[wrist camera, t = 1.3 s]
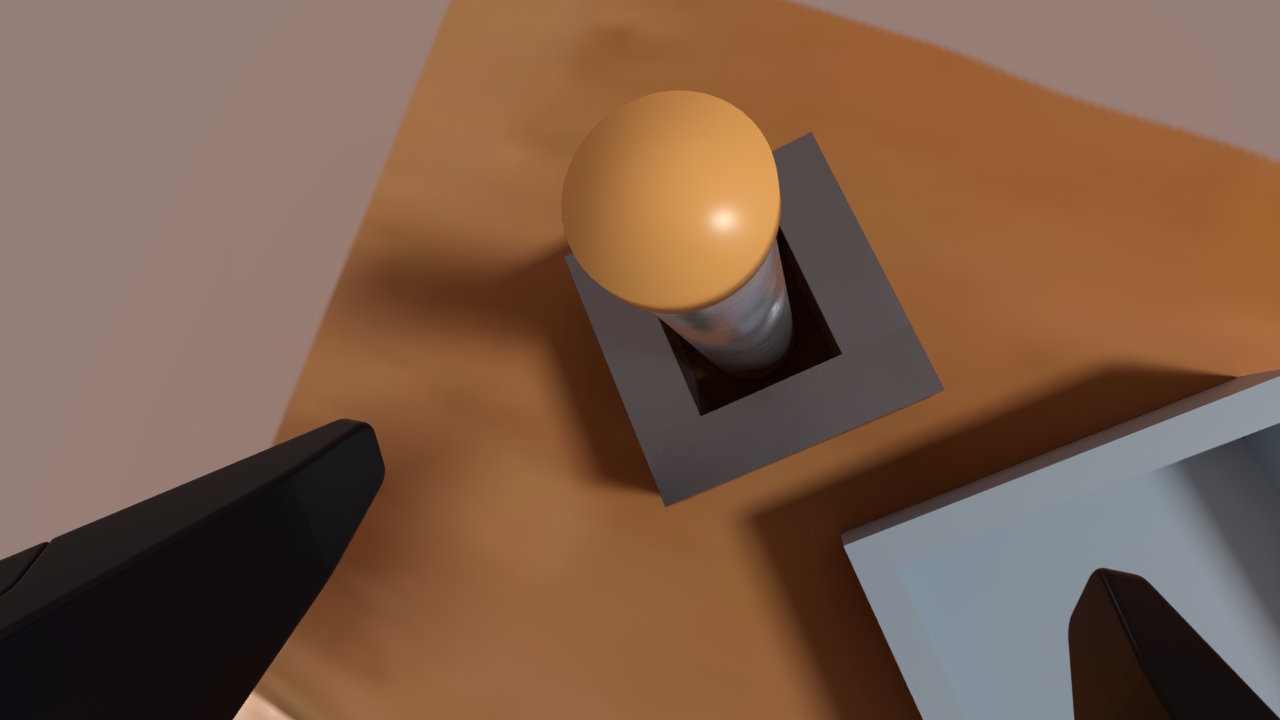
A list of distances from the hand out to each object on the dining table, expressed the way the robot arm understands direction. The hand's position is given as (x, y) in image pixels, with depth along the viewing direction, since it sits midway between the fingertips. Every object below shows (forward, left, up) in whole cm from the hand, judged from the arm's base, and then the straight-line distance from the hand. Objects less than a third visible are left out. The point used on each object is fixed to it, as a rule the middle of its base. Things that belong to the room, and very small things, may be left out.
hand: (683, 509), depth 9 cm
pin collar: (+1, +4, -15) cm, 15 cm away
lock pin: (+1, +4, -15) cm, 15 cm away
